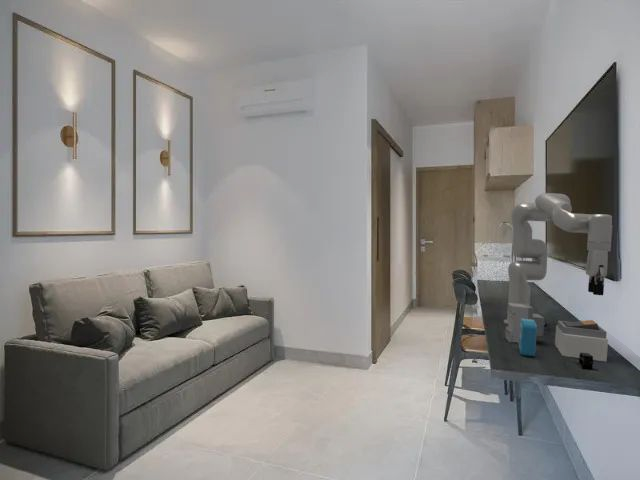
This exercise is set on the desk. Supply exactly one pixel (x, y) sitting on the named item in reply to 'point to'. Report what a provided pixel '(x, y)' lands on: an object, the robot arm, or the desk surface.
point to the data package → (527, 337)
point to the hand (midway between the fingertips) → (595, 293)
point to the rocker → (582, 324)
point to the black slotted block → (585, 362)
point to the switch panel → (581, 341)
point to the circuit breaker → (515, 317)
